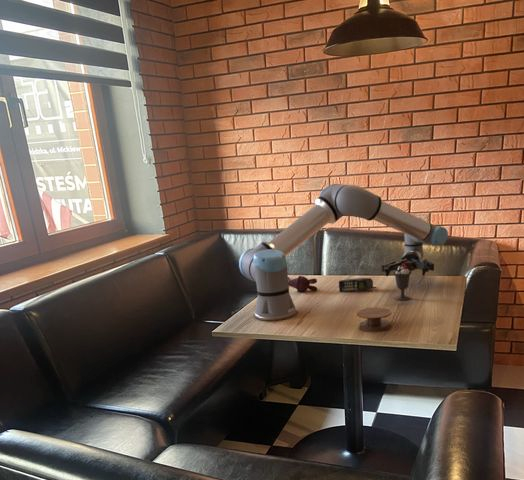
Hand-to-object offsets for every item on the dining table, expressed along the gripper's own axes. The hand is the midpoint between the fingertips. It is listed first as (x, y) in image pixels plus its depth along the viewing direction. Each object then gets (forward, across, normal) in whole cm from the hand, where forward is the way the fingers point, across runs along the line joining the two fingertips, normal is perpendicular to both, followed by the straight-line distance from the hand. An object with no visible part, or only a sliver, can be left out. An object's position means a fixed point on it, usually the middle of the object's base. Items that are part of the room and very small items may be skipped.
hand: (404, 272), depth 205 cm
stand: (+40, +5, -8) cm, 41 cm away
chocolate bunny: (-4, +44, -8) cm, 45 cm away
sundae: (+7, 0, -9) cm, 11 cm away
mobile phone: (-5, +20, -9) cm, 22 cm away
